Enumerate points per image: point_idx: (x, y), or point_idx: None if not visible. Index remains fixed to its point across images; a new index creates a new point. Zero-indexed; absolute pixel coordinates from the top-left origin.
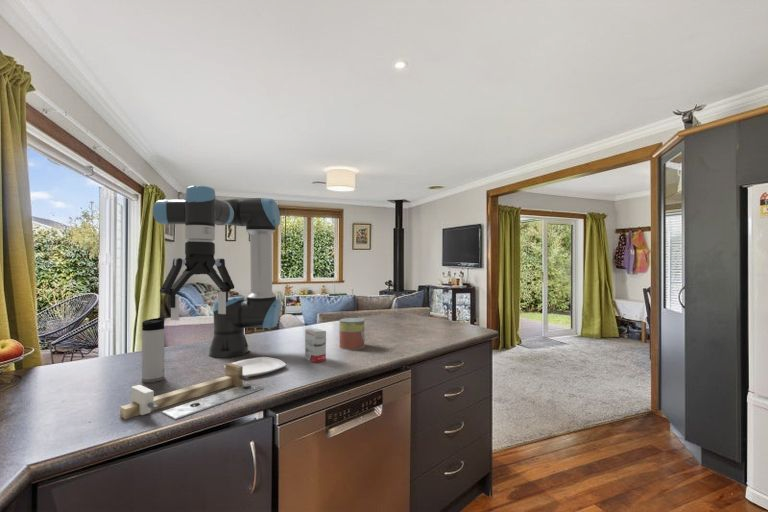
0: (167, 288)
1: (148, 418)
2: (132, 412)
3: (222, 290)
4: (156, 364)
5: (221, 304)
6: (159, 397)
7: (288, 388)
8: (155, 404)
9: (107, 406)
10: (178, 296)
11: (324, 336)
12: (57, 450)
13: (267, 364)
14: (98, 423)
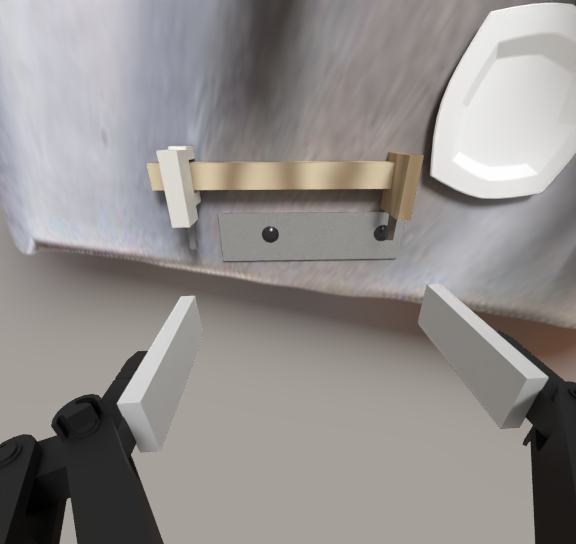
0: (30, 530)
1: None
2: None
3: (544, 409)
4: None
5: (449, 342)
6: (221, 179)
7: (416, 290)
8: (194, 239)
9: (139, 59)
10: (157, 445)
11: None
12: (64, 225)
13: (556, 113)
14: (118, 163)
